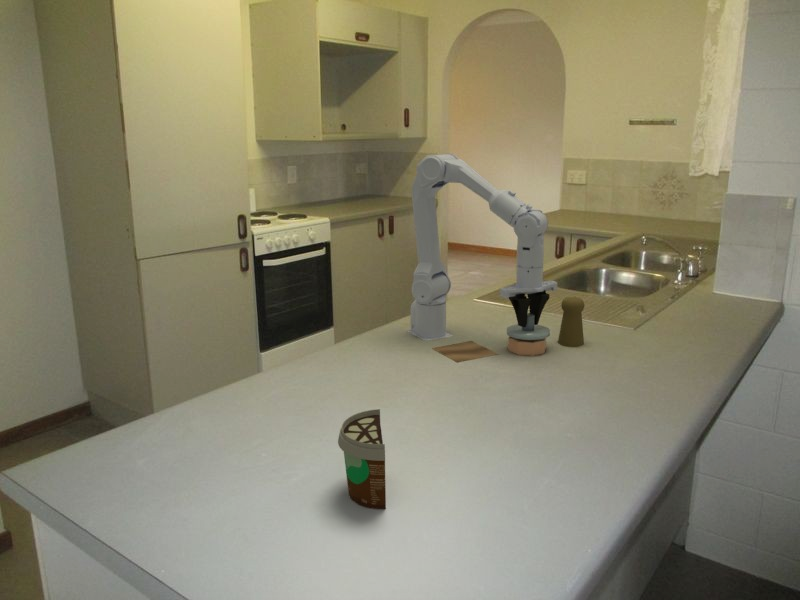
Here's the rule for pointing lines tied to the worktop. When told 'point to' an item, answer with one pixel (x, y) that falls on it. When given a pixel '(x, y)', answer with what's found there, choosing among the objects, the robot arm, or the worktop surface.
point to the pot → (527, 346)
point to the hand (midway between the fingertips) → (528, 324)
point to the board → (464, 351)
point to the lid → (528, 330)
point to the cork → (571, 323)
